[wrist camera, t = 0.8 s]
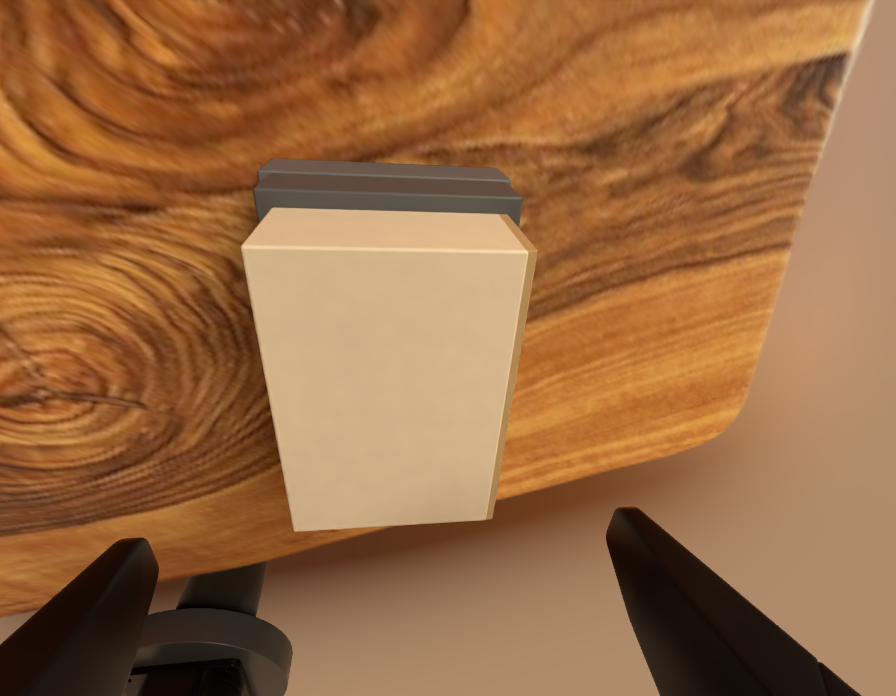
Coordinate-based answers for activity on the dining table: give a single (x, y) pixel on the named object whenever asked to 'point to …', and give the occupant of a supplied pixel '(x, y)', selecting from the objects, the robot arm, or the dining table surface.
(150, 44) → the dining table surface
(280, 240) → the beige rectangular block
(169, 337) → the dining table surface
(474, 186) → the grey book stack
